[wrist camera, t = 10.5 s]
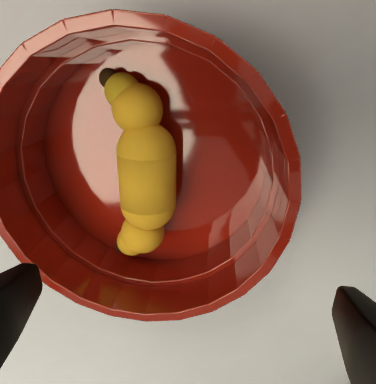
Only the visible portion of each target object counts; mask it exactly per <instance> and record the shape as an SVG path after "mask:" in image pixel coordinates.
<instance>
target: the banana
mask: <svg viewBox="0 0 376 384" xmlns="http://www.w3.org/2000/svg"><path fill="white" fill-rule="evenodd" d="M99 82H100V84H101V85H102V86H103V87H104V93H105V97H106V99H107V101H108V102H109V104H110V105H111V106H112V114H113V117H114V120H115V122H116V123H117V125H118V126H119V127H120V128H121V129H122V130H124V132H123V133H122V134H121V136H120V138H119V140H118V143H117V148H116V155H117V168H118V182H119V195H120V206H121V211H122V213H123V216H124V217H125V221H124V222H123V225H122V228H121V231H120V232H119V234H118V237H117V243H116V250H117V251H118V252H119V253H124V254H126V255H131V256H132V255H137V254H139V253H148V252H151V251H153V250H155V249H156V248H157V247H158V246H159V245H160V244H161V242H162V240H163V237H164V225H165V224H166V223H167V222H168V221H169V220H170V219H171V217H172V216H173V214H174V211H175V208H176V145H175V142H174V139H173V137H172V135H171V134H170V133H169V132H168V130H166V129H165V128H164V127H163V126H161V125H159V123H160V121H161V119H162V115H163V104H162V101H161V99H160V97H159V95H158V94H157V92H156V91H155V90H154V89H153V88H151V87H150V86H148V85H146V84H142V83H139V82H138V81H137V79H136V78H135V77H134V76H132V75H130V74H128V73H125V72H118V73H117V72H116V71H115V70H114V69H112V68H104V69H103V70H101V72H100V73H99Z"/></svg>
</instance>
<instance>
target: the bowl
mask: <svg viewBox="0 0 376 384" xmlns="http://www.w3.org/2000/svg"><path fill="white" fill-rule="evenodd" d="M104 68H112V69H114V70H115V71H116V72H117V73H118V72H125V73H128V74H130V75H132V76H134V77H135V78H136V79H137V81H138V82H139V83H142V84H146V85H148V86H150V87H151V88H153V89H154V90H155V91H156V92H157V94H158V95H159V97H160V99H161V101H162V104H163V115H162V119H161V121H160V123H159V125H161V126H163V127H164V128H165V129H166V130H168V132H169V133H170V134H171V135H172V137H173V139H174V142H175V145H176V208H175V211H174V214H173V216H172V217H171V219H170V220H169V221H168V222H167V223H166V224H165V225H164V237H163V240H162V242H161V244H160V245H159V246H158V247H157V248H156V249H155V250H153V251H151V252H148V253H139V254H137V255H132V256H131V255H126V254H124V253H119V252H118V251H117V250H116V243H117V237H118V234H119V232H120V231H121V228H122V225H123V222H124V221H125V217H124V216H123V213H122V211H121V206H120V195H119V182H118V168H117V155H116V148H117V143H118V140H119V138H120V136H121V134H122V133H123V132H124V130H122V129H121V128H120V127H119V126H118V125H117V123H116V122H115V120H114V117H113V114H112V106H111V105H110V104H109V102H108V101H107V99H106V97H105V93H104V87H103V86H102V85H101V84H100V82H99V73H100V72H101V70H103V69H104ZM300 204H301V159H300V154H299V151H298V148H297V145H296V141H295V138H294V135H293V132H292V129H291V126H290V123H289V119H288V116H287V114H286V112H285V110H284V109H283V107H282V106H281V104H280V103H279V101H278V100H277V98H276V97H275V95H274V94H273V92H272V91H271V89H270V88H269V86H268V85H267V84H266V82H265V81H264V79H263V78H262V76H261V75H260V73H259V72H258V71H257V70H256V69H255V68H254V67H253V66H252V65H250V64H249V63H248V62H247V61H246V60H244V59H243V58H242V57H241V56H240V55H238V54H237V53H236V52H235V51H233V50H232V49H231V48H230V47H229V46H227V45H226V44H225V43H224V42H223V41H221V40H220V39H219V38H218V37H216V36H214V35H212V34H210V33H207V32H205V31H203V30H201V29H198V28H196V27H194V26H191V25H189V24H187V23H184V22H182V21H180V20H177V19H175V18H173V17H170V16H168V15H167V16H166V15H164V14H155V13H146V12H137V11H128V10H119V9H113V10H112V9H109V10H104V11H99V12H95V13H90V14H85V15H80V16H75V17H70V18H65V19H63V20H60V21H59V22H57V23H55V24H53V25H52V26H50V27H48V28H47V29H45V30H43V31H41V32H40V33H38V34H36V35H35V36H33V37H31V38H29V39H28V40H26V41H24V42H23V43H22V44H20V45H19V47H18V48H17V49H16V50H15V51H14V52H13V54H12V55H11V56H10V57H9V58H8V59H7V61H6V62H5V63H4V64H3V65H2V67H1V68H0V236H1V237H2V239H3V240H4V241H5V243H6V244H7V245H8V247H9V248H10V249H11V251H12V252H13V253H14V255H15V256H16V257H17V259H18V260H19V261H20V262H21V263H35V264H37V265H38V267H39V271H40V276H41V280H42V282H43V283H44V284H46V285H47V286H49V287H50V288H52V289H54V290H55V291H57V292H59V293H60V294H62V295H64V296H65V297H67V298H69V299H70V300H72V301H74V302H75V303H78V304H80V305H82V306H85V307H88V308H91V309H93V310H96V311H99V312H102V313H104V314H107V315H111V316H115V317H121V318H127V319H134V320H140V321H169V320H179V319H180V320H182V319H186V318H190V317H194V316H197V315H201V314H205V313H209V312H212V311H215V310H217V309H218V308H220V307H222V306H224V305H226V304H228V303H230V302H232V301H234V300H236V299H237V298H239V297H241V296H243V295H245V294H246V293H247V292H248V291H249V290H250V289H251V288H252V287H254V286H255V285H256V284H257V283H258V282H259V281H260V280H261V279H262V278H264V277H265V276H266V275H267V274H268V273H269V272H270V271H271V270H272V268H273V266H274V265H275V263H276V262H277V260H278V259H279V257H280V255H281V254H282V252H283V251H284V249H285V248H286V246H287V244H288V243H289V241H290V239H291V235H292V232H293V228H294V225H295V221H296V218H297V214H298V211H299V207H300Z"/></svg>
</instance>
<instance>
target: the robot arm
mask: <svg viewBox="0 0 376 384" xmlns="http://www.w3.org/2000/svg"><path fill="white" fill-rule="evenodd" d="M41 292H42V280H41V276H40V271H39V267H38V265H37V264H35V263H21V264H19V265H17V266H15V267H13V268H11V269H9V270H6V271H4V272H2V273H0V368H1V367H2V365H3V363H4V362H5V360H6V358H7V357H8V355H9V354H10V352H11V350H12V349H13V347H14V345H15V344H16V342H17V340H18V338H19V337H20V335H21V333H22V331H23V329H24V327H25V325H26V323H27V321H28V319H29V317H30V315H31V313H32V310H33V308H34V306H35V304H36V302H37V300H38V298H39V296H40V294H41ZM332 316H333V321H334V325H335V328H336V332H337V336H338V340H339V344H340V348H341V352H342V356H343V360H344V364H345V367H346V371H347V374H348V377H349V380H350V382H351V384H376V302H374V301H373V300H371V299H370V298H369V297H367V296H366V295H365V294H363V293H362V292H361V291H359V290H358V289H356V288H355V287H349V286H340V287H338V289H337V291H336V295H335V299H334V303H333V307H332Z"/></svg>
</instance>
